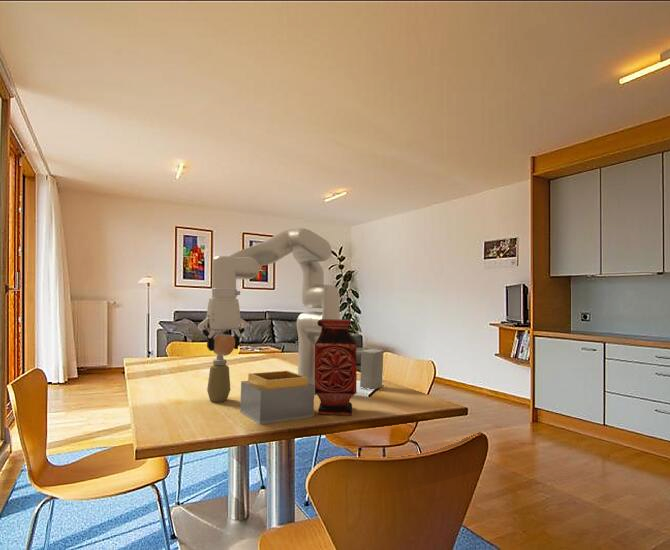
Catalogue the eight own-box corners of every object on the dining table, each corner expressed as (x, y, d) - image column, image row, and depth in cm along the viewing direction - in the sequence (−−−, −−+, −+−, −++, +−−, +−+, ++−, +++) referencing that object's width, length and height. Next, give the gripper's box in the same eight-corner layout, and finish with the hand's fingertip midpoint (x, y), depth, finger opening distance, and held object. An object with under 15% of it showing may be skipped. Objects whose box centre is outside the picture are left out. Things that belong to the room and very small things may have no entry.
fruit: (206, 356, 143) (206, 330, 143) (220, 353, 149) (220, 328, 150) (226, 357, 140) (227, 331, 140) (239, 354, 147) (240, 329, 147)
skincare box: (369, 385, 194) (370, 348, 195) (384, 387, 190) (384, 349, 190) (358, 388, 187) (359, 350, 188) (373, 390, 183) (374, 351, 184)
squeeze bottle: (224, 403, 156) (225, 351, 156) (202, 402, 157) (204, 350, 158) (233, 398, 164) (235, 348, 164) (213, 397, 165) (214, 347, 166)
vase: (316, 405, 156) (318, 318, 158) (355, 406, 156) (357, 319, 157) (312, 416, 142) (315, 320, 144) (356, 417, 142) (358, 321, 143)
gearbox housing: (290, 405, 154) (291, 369, 155) (313, 416, 141) (314, 377, 142) (240, 412, 145) (241, 373, 145) (259, 424, 131) (261, 381, 132)
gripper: (245, 294, 153) (244, 346, 153) (193, 294, 144) (192, 349, 143) (254, 294, 147) (253, 349, 146) (200, 294, 137) (199, 352, 137)
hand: (223, 349), depth 145 cm, fingers closed on fruit, 7 cm apart
